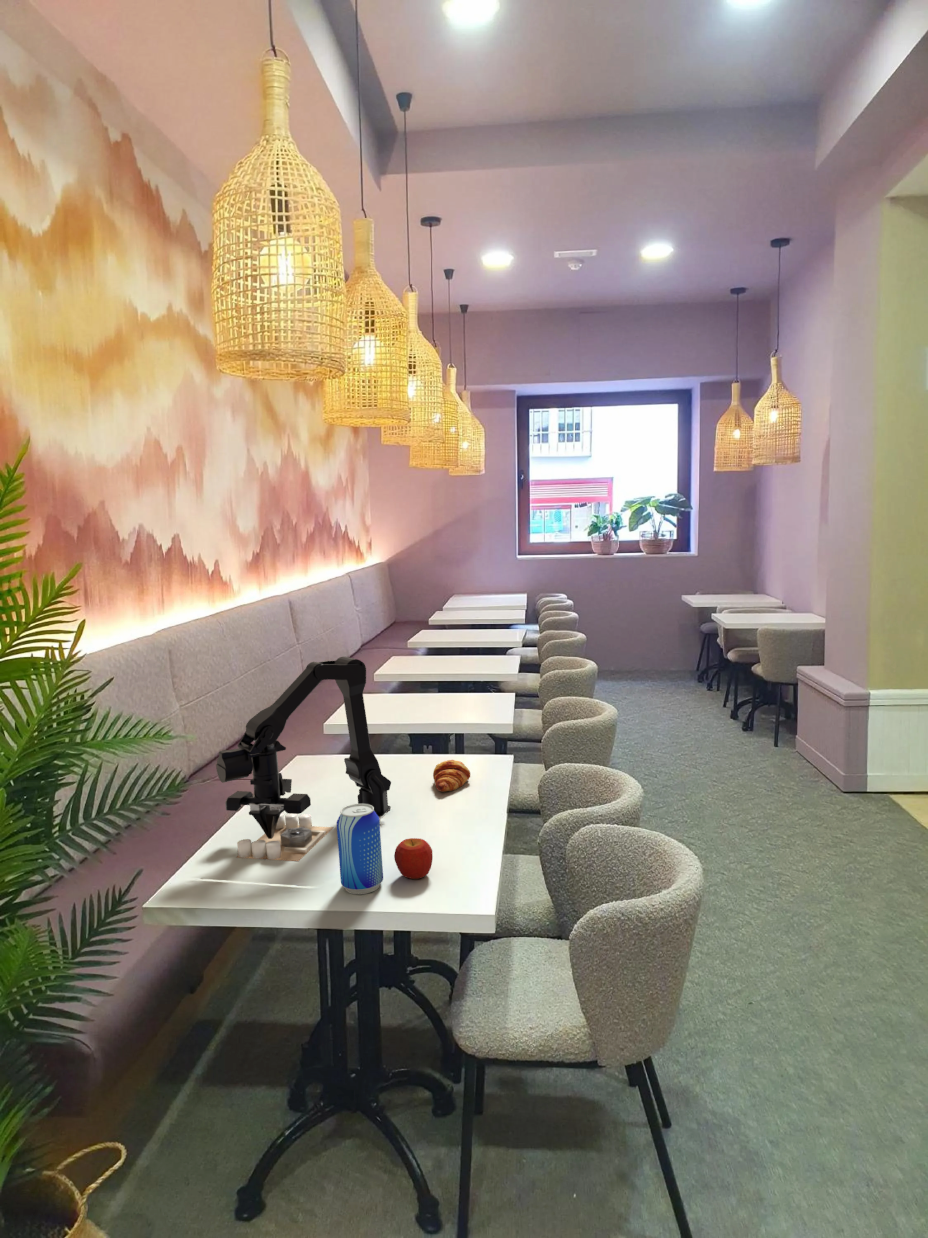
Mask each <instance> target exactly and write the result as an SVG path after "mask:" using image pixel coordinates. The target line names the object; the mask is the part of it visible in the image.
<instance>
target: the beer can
mask: <svg viewBox="0 0 928 1238" xmlns="http://www.w3.org/2000/svg"><path fill="white" fill-rule="evenodd" d="M380 823H381V822H380V816H378V815H377V814H376V813H375V811H374V807H373V806H372V805H369V804H358V803H353V804H350V805H346V806H344V807H342V808H341V809H340V814H339V816H338V818H337V821H336V834H337V846H338V847H337V849H338V862H339V874H340V883H341V886H342V887H343V888H344V890H345V891H346V892H348V894H349V893H350V894H352V895H365V894H370V893H372V892H375V891H376V890H378V889H379V888H380V886H381V884H382V882H383V880H384V871H383V867H384V866H383V854H382V853H383V852H382V840H381V839H382V838H381V827H380V826H381V824H380Z"/></svg>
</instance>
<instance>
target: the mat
mask: <svg viewBox="0 0 928 1238" xmlns="http://www.w3.org/2000/svg"><path fill="white" fill-rule="evenodd" d="M333 829H334V827H332V826H316V825H314V826H313V825H312V829H310V830H311V832H312V841H311V842H310V843H309V844H308V845H307V846H305V847H299V848H293V847H285V846H282V845H281V836H280V835H281V834H282V833H283V832H284V831H286V824H285V827H284V828H283V829H278V830H276V829H275V833H274V837H273V838H272V839H268V837H267V836H266V834H265V833H264V834H263V835H262V836H260V837H259V838H258V839H256V840H255V841H257V840H265V841H266V844H267V843H268V842H270V841H279V842H280V847H281V857H280V858H278V859H272V861H287V862H300V860H302V859H303V858H304V857H305V856H306V855H307V854H308V853H309V852H310V851H312V849H313V848H314V847H315V846H317V844H318V843H319V842H321V841H322V840H323V838H325V837H326V835H327V834H329V832H331V831H333ZM266 852H267V849H266ZM235 858H237V859H239V858H240V859H242V858H241V857H239V856H238V855H237V856H236V857H235ZM244 859H251V860H252V859H253V860H254V859H255V860H257V859H256V858H253V854H252V855H251V856H249V857H245V858H244ZM258 860H267V861H268V860H269V861H271V859H268V858H267V855H266V856H265V857H263V858H259V859H258Z"/></svg>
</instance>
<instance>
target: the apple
mask: <svg viewBox="0 0 928 1238" xmlns="http://www.w3.org/2000/svg"><path fill="white" fill-rule="evenodd" d="M393 856H394V858H393V859H394V863H395V865H396V867H397V869H398V871H399V873H400V874H401V876H402V877H405V878H407V879H412V880H416V879H417V880H418V879H422V878H424V877H425V876H426V877H427V875H428V874H429V873H430V870H431V869H432V864H433V857H434V856H433V848H432V847H431V845H430V843H428V842H427V841H426V840H425V839H423V838H415V837H414V838H405V839H404V840H402V841H400V842H399V843H398V845H397V846H396V847H395V851H394V855H393Z"/></svg>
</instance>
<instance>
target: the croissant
mask: <svg viewBox="0 0 928 1238" xmlns="http://www.w3.org/2000/svg"><path fill="white" fill-rule="evenodd" d="M432 777H433V781H434V785H435V788H436V789H437V790H438V791H440V792H442V793H445V792H452V791H456V790H457V789H459V788H461V787H463V785H465V783H466V782H467V781H468V780H470V777H471V771H470V769H469V768H468V767H467V765H465V764H464V763H463V762H462V761H460V760H455V759H448V760H444V761H441V762H440V763H438V764H436V766H435V768H434V769H433V773H432Z"/></svg>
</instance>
